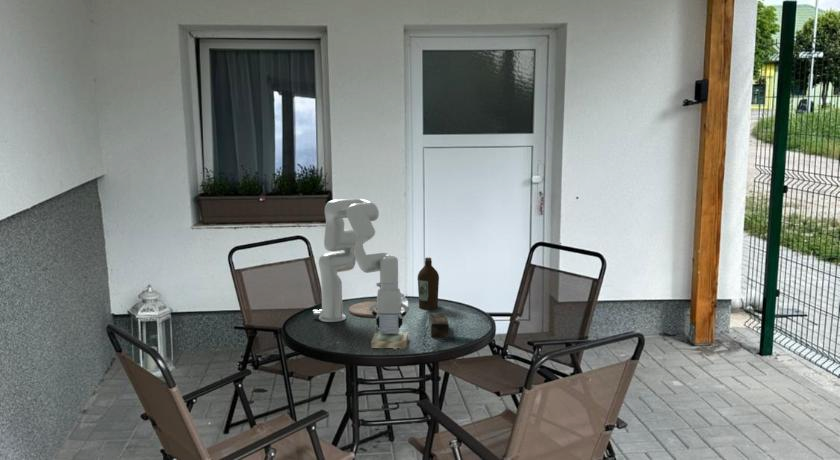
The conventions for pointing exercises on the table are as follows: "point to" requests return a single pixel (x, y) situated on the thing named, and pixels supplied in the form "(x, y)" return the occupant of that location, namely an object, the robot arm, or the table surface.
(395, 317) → the medicine box
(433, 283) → the olive oil
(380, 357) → the table surface
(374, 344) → the plinth
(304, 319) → the table surface
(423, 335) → the table surface
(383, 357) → the table surface
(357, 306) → the trivet
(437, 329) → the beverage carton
